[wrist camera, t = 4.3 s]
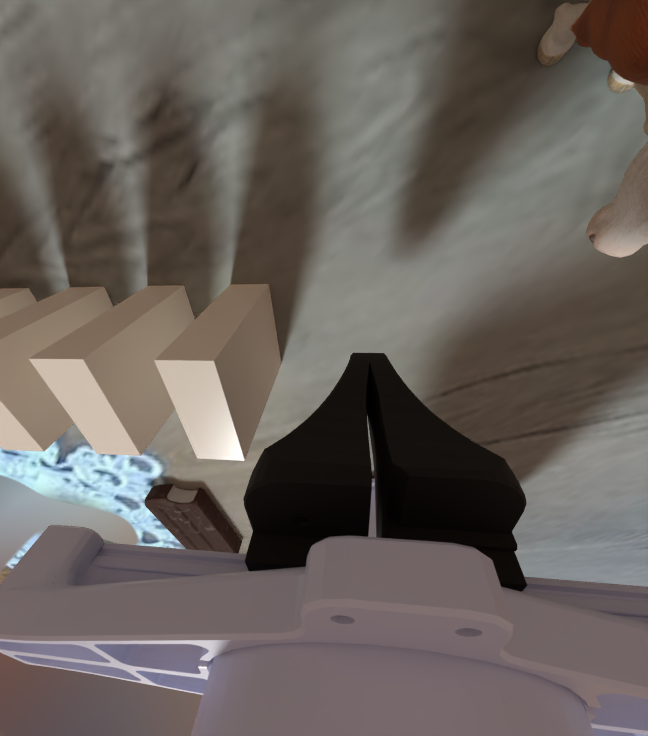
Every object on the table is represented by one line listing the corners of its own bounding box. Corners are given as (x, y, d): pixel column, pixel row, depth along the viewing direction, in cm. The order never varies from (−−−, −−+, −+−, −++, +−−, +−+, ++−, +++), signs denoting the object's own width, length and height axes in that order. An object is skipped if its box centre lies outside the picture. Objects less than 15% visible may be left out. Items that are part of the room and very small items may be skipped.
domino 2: (183, 285, 16) (82, 359, 10) (208, 362, 18) (140, 455, 13) (147, 285, 16) (28, 359, 10) (177, 362, 19) (96, 453, 13)
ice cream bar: (258, 560, 34) (200, 478, 26) (254, 576, 33) (191, 496, 25) (216, 560, 35) (148, 482, 27) (211, 575, 34) (137, 498, 26)
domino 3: (269, 283, 15) (213, 360, 9) (281, 363, 18) (244, 460, 12) (230, 284, 15) (153, 360, 10) (248, 362, 18) (197, 458, 12)
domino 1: (103, 286, 16) (-37, 358, 10) (139, 361, 19) (43, 451, 13) (69, 287, 16) (-86, 357, 11) (110, 361, 19) (3, 449, 13)
